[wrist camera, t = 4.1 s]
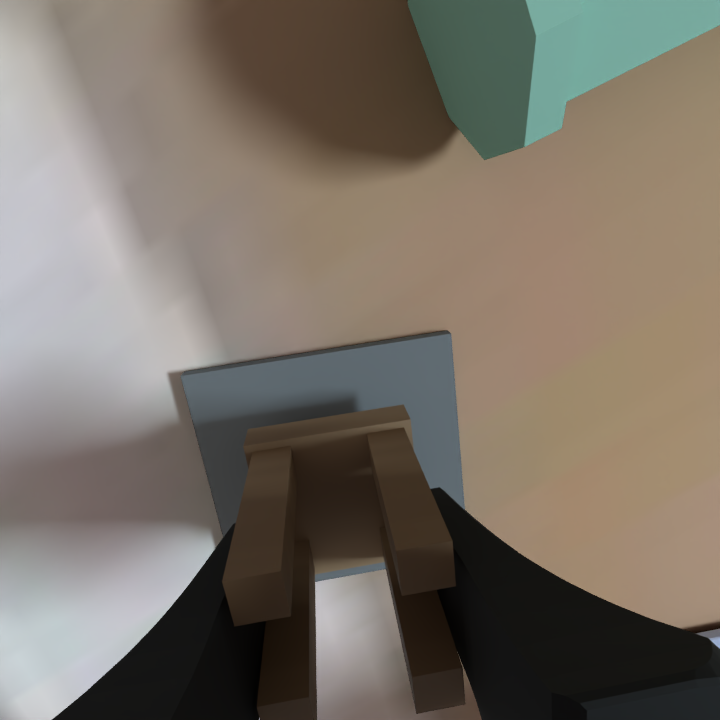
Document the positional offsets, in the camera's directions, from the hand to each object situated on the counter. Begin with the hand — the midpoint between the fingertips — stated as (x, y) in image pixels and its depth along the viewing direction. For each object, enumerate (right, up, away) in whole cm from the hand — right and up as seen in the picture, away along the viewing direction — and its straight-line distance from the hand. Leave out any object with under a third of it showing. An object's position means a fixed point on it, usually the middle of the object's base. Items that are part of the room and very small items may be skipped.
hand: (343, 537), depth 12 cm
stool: (0, +1, +2) cm, 2 cm away
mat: (0, +1, +3) cm, 4 cm away
